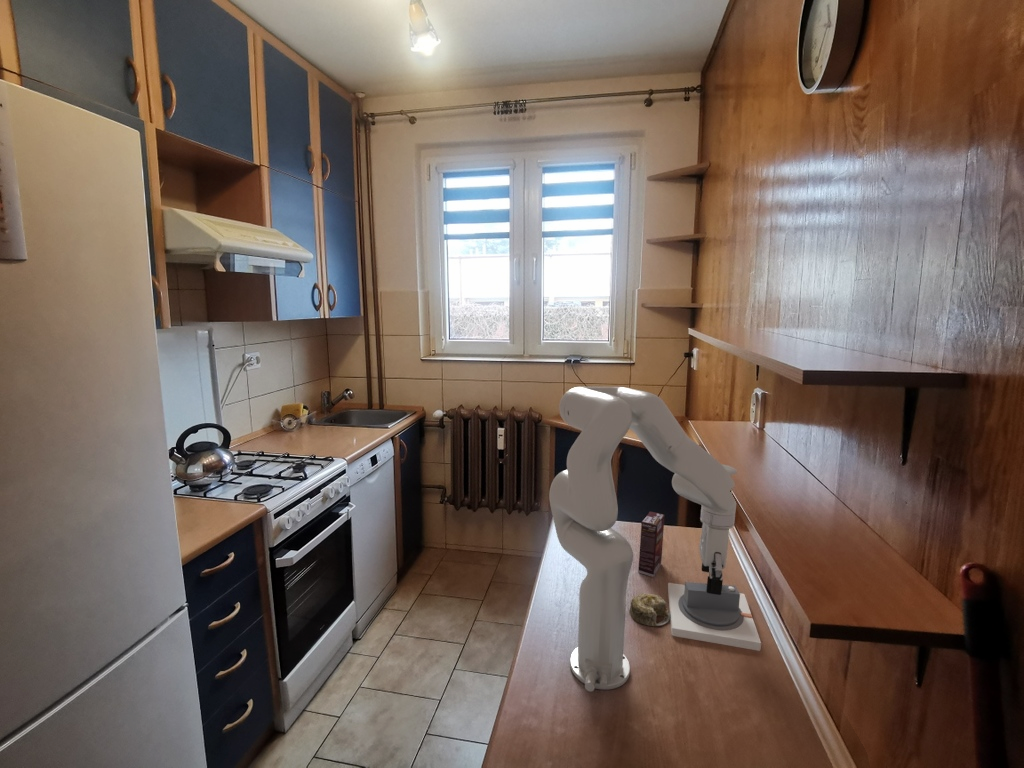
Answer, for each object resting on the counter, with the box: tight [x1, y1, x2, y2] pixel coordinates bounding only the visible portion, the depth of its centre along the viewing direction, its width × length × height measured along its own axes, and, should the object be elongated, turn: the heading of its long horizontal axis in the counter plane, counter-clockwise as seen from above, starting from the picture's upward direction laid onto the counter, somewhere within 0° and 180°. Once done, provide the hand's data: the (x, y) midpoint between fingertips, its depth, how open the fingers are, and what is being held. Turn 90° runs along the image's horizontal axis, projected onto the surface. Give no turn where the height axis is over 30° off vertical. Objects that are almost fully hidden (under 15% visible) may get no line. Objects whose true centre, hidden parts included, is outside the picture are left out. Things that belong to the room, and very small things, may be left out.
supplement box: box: [637, 511, 665, 578], centre depth 140 cm, size 9×5×16 cm, turn 148°
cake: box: [628, 593, 670, 627], centre depth 120 cm, size 10×10×5 cm
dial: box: [683, 581, 740, 626], centre depth 118 cm, size 13×13×6 cm
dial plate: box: [667, 582, 762, 652], centre depth 119 cm, size 19×19×2 cm
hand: (710, 582), depth 117 cm, fingers open, 9 cm apart
